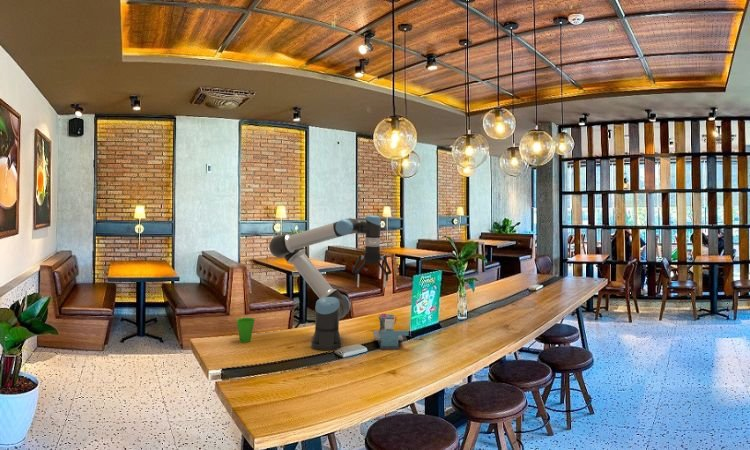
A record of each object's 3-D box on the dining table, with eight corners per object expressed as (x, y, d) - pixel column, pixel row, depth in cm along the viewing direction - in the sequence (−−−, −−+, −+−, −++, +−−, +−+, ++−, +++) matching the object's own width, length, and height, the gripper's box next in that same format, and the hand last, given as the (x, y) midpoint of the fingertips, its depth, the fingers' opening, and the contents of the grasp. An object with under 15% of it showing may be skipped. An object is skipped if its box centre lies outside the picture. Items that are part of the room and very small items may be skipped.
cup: (258, 341, 239) (258, 320, 238) (242, 345, 232) (242, 323, 232) (248, 337, 245) (248, 316, 245) (232, 341, 238) (232, 319, 238)
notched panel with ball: (375, 349, 232) (376, 327, 231) (372, 339, 248) (373, 319, 248) (408, 349, 233) (408, 327, 232) (403, 339, 249) (404, 319, 249)
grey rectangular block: (385, 344, 235) (385, 321, 234) (384, 342, 239) (384, 319, 238) (393, 345, 235) (393, 321, 234) (392, 342, 239) (392, 319, 238)
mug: (385, 338, 251) (385, 318, 251) (373, 334, 258) (374, 315, 258) (401, 334, 259) (402, 315, 259) (390, 330, 266) (390, 312, 266)
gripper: (348, 245, 236) (347, 288, 237) (397, 247, 238) (396, 288, 239) (347, 244, 243) (346, 285, 244) (395, 245, 245) (394, 286, 246)
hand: (371, 287), depth 242 cm, fingers open, 13 cm apart
